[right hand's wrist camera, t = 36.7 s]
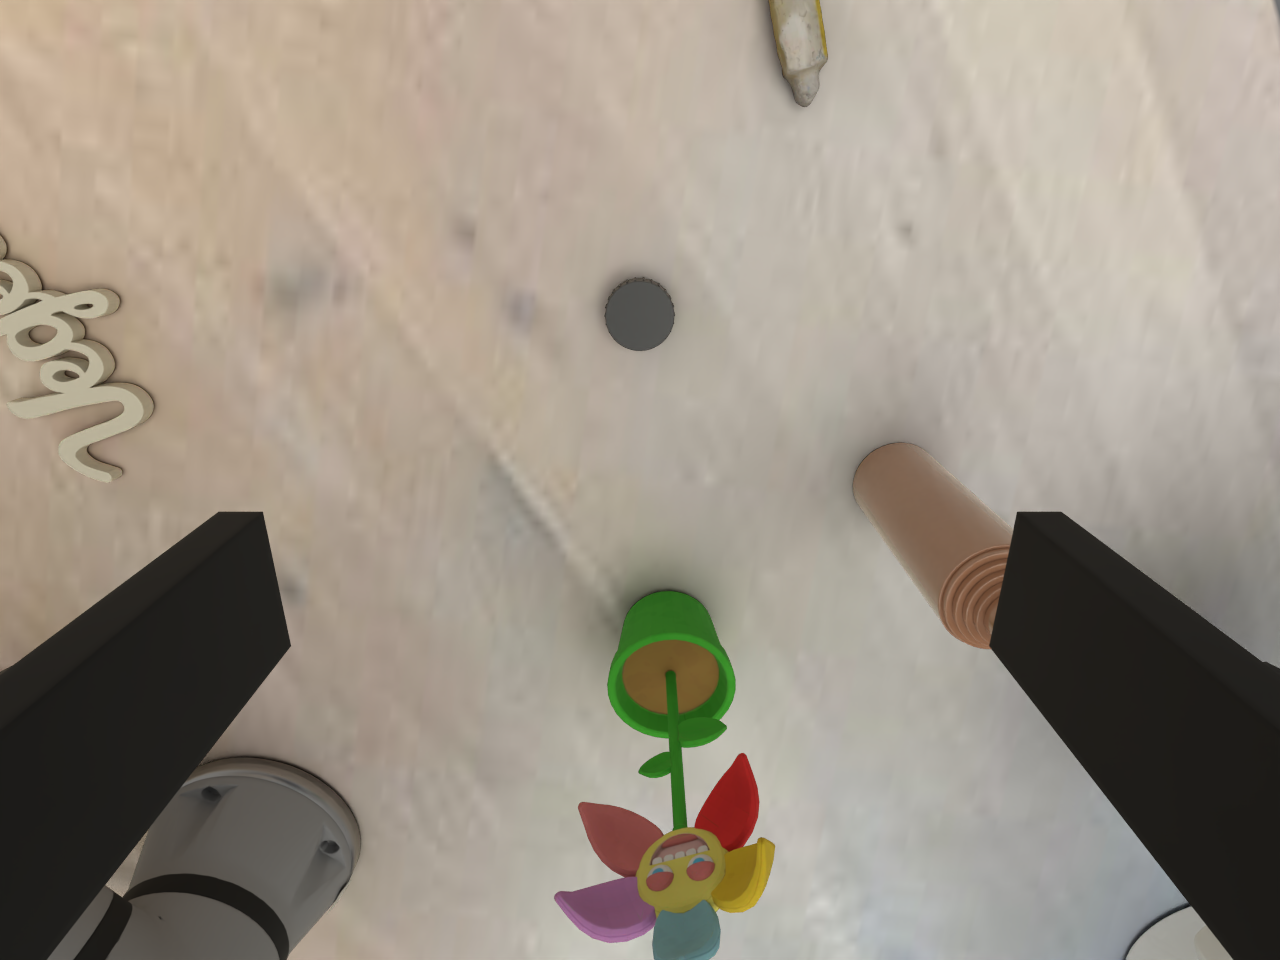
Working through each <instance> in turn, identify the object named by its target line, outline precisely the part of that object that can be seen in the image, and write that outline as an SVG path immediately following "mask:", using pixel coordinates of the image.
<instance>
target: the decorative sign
mask: <svg viewBox="0 0 1280 960" xmlns="http://www.w3.org/2000/svg"><path fill="white" fill-rule="evenodd" d="M6 251H7V247H6V243H5V241H4V239H3V238H2V237H1V236H0V271H3V272H5V273H7V274H8V275H9V276H10V277H11V278H12V280H13V283H12V282H10V281H7V280H2V279H0V294H1V295H2V296H3V298H2V299H0V315H4V314H10V313H12V314H10V315H7V316H5V317H3V318H1V319H0V336H3V335H7V344H8V347H9V349H10V351H11V352H12V353H13V354H14V355H15V356H16V357H17V358H19V359H20V360H23V361H28V362H32V361H39V360H43V359H47V358H50V357H54V356H57V355H61V354H63V353H65V352H68V351H69V350H73V351H77V352H80V353H82V354H84V355H86V356H87V357H88V359H89V362H88V361H86V360H84V359H80V358H72V357H66V358H61V359H57V360H54V361H50V362H47V363H45V364H43V365H42V367H41V369H40V379H41V382H42V383H43V385H44V386H45V387H47V388H48V389H50V390H52V391H55V392H58V393H53V394H48V395H44V396H39V397H35V398H19V399H16V400H13V401H10V402H7V407H8V409H9V410H10V411H11V412H12V413H13V414H14V415H15V416H17V417H20V418H23V419H33V418H38V417H42V416H46V415H49V414H53V413H56V412H60V411H63V410H67V409H71V408H76V407H80V406H86V405H91V404H97V403H104V402H110V401H119V402H121V403H122V404H123V406H124V412H123V413H122V414H121V415H119V416H118V417H116V418H114V419H112V420H109V421H106V422H103V423H101V424H98V425H95V426H93V427H90V428H88V429H85V430H83V431H80V432H78V433H76V434H73V435H71V436H69V437H67V438H65V439H64V440H63V441H62V442H61V443H60V445H59V447H58V454H59V456H60V458H61V459H62V461H63V462H64V463H66V464H67V465H68V466H69V467H71V468H72V469H74V470H75V471H77V472H79V473H81V474H82V475H84V476H87V477H89V478H92V479H94V480H97V481H101V482H105V483H109V482H111V481H113V480H115V479H117V478H119V477H121V476H122V470H121V469H120V468H118V467H115V466H111V465H108V464H105V463H102V462H99V461H97V460H95V459H94V458H92V457H91V456H90V455H89V454H88V452H87V447H88V446H89V445H90V444H92V443H94V442H97V441H100V440H103V439H105V438H108V437H111V436H113V435H116V434H118V433H121V432H124V431H126V430H128V429H131V428H133V427H135V426H137V425H139V424H141V423H143V422H145V421H146V420H147V419H148V418H149V417H150V416H151V414H152V412H153V408H154V405H153V401H152V399H151V397H150V396H149V395H148V393H147V392H145V391H144V390H143V389H142V388H140V387H138V386H136V385H133V384H129V383H105V384H101V383H103V382H104V381H105V380H107V379H108V378H109V377H110V375H111V374H112V373H113V371H114V368H115V362H114V359H113V357H112V355H111V353H110V352H109V350H108V349H107V348H106V347H104V346H103V345H101V344H100V343H98V342H95V341H92V340H86V339H83V338H84V336H85V329H84V326H83V325H82V323H81V322H80V321H79V320H78V319H76V318H75V317H79V318H88V319H89V318H96V317H101V316H105V315H109V314H112V313H114V312H115V311H116V310H117V309H118V307H119V304H120V299H119V297H118V296H117V295H116V294H115V293H114V292H112V291H110V290H108V289H93V290H87V291H81V292H77V293H72V294H68V295H67V294H64V293H62V292H59V291H54V290H43V291H41V290H42V285H41V281H40V279H39V277H38V275H37V274H36V273H35V271H34V270H33V269H32V268H31V267H30V266H28V265H27V264H25V263H23V262H20V261H16V260H10V259H4V260H2V259H3V258H4V257H5V255H6ZM37 299H40V300H42V301H40V302H38V303H36V304H34V305H32V304H33V303H34V302H35V301H36V300H37ZM87 304H93V307H88V306H86V305H87ZM62 312H65V313H62ZM66 313H67V314H66ZM71 315H72V316H71ZM73 316H75V317H73ZM39 325H48V326H52V327H54V328H56V329H57V334H56V336H55V337H54V338H53V339H52V340H51V341H49V342H47V343H45V344H39V343H35V342H33V341H32V340H31V339H30V338H29V335H28V333H29V331H30V330H31V329H33V328H34V327H36V326H39ZM66 370H69V371H73V372H75V373H77V374H78V375H79V378H70V377H68V376H66V375H65V374H64V373H65V371H66Z"/></svg>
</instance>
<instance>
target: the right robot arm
mask: <svg viewBox="0 0 1280 960" xmlns="http://www.w3.org/2000/svg"><path fill="white" fill-rule="evenodd" d="M290 646H291V644H290V639H289V634H288V630H287V625H286V620H285V615H284V611H283V606H282V601H281V596H280V592H279V587H278V582H277V577H276V572H275V568H274V563H273V558H272V553H271V549H270V544H269V539H268V534H267V530H266V525H265V520H264V515H263V512H218V513H217V514H215V515H214V516H212V517H211V518H210V519H208V520H207V521H206V522H204V523H203V524H202V525H200V526H199V527H198V528H196V529H195V530H194V531H192V532H191V533H190V534H188V535H187V536H186V537H184V538H183V539H182V540H180V541H179V542H178V543H176V544H175V545H174V546H172V547H171V548H170V549H168V550H167V551H166V552H164V553H163V554H162V555H160V556H159V557H158V558H156V559H155V560H154V561H152V562H151V563H150V564H148V565H147V566H146V567H144V568H143V569H142V570H140V571H139V572H138V573H136V574H135V575H134V576H132V577H131V578H130V579H128V580H127V581H125V582H124V583H123V584H121V585H120V586H119V587H117V588H116V589H115V590H113V591H112V592H111V593H109V594H108V595H107V596H105V597H104V598H103V599H101V600H100V601H99V602H97V603H96V604H95V605H93V606H92V607H91V608H89V609H88V610H87V611H85V612H84V613H83V614H81V615H80V616H79V617H77V618H76V619H75V620H73V621H72V622H71V623H69V624H68V625H67V626H65V627H64V628H63V629H61V630H60V631H59V632H57V633H56V634H55V635H53V636H52V637H51V638H49V639H48V640H47V641H45V642H44V643H43V644H41V645H40V646H38V647H37V648H36V649H34V650H33V651H32V652H30V653H29V654H28V655H26V656H25V657H24V658H22V659H21V660H20V661H18V662H17V663H16V664H14V665H13V666H11V667H9V668H7V669H5V670H3V671H1V672H0V960H287V958H288V956H289V954H290V952H291V951H292V950H293V949H294V948H295V946H296V945H297V944H298V943H299V942H300V941H301V940H302V938H303V937H304V936H305V935H306V934H307V933H308V932H309V930H310V929H311V928H312V927H313V926H314V925H315V924H316V922H317V921H318V920H319V919H320V918H321V917H322V916H323V914H324V913H325V912H326V911H327V910H328V909H329V908H330V906H331V905H332V904H333V903H334V904H333V906H332V907H331V909H332V908H333V907H334V906H335V905H336V904H337V902H338V901H339V899H340V898H341V896H342V894H343V893H344V891H345V890H346V888H347V886H348V885H349V883H350V882H351V881H350V882H349V880H350V877H351V875H352V873H353V870H354V868H355V866H356V863H357V861H358V858H359V854H360V847H361V845H360V833H359V829H358V825H357V823H356V820H355V818H354V816H353V814H352V813H351V811H350V809H349V808H348V806H347V805H346V804H345V802H344V801H343V800H342V799H341V798H340V797H339V796H338V795H337V794H336V793H335V792H334V791H333V790H332V789H331V788H330V787H328V786H327V785H326V784H324V783H323V782H322V781H320V780H319V779H317V778H315V777H314V776H312V775H310V774H308V773H306V772H304V771H302V770H300V769H298V768H295V767H293V766H290V765H287V764H284V763H280V762H276V761H272V760H267V759H260V758H245V757H241V758H228V759H222V760H217V761H213V762H210V763H207V764H204V765H202V766H200V767H197V766H198V765H199V763H200V762H201V761H202V760H203V758H204V757H205V756H206V754H207V753H208V752H209V751H210V749H211V748H212V747H213V745H214V744H215V743H216V742H217V740H218V739H219V738H220V736H221V735H222V734H223V733H224V731H225V730H226V729H227V727H228V726H229V725H230V724H231V722H232V721H233V720H234V718H235V717H236V716H237V715H238V713H239V712H240V711H241V709H242V708H243V707H244V706H245V704H246V703H247V702H248V700H249V699H250V698H251V697H252V695H253V694H254V693H255V691H256V690H257V689H258V688H259V686H260V685H261V684H262V682H263V681H264V680H265V679H266V677H267V676H268V675H269V673H270V672H271V671H272V670H273V668H274V667H275V666H276V664H277V663H278V662H279V661H280V659H281V658H282V657H283V655H284V654H285V653H286V652H287V650H288V649H289V648H290ZM989 646H990V648H991V649H992V650H993V652H994V653H995V654H996V655H997V657H998V658H999V659H1000V661H1001V662H1002V663H1003V664H1004V666H1005V667H1006V668H1007V670H1008V671H1009V672H1010V673H1011V675H1012V676H1013V677H1014V679H1015V680H1016V681H1017V682H1018V684H1019V685H1020V686H1021V688H1022V689H1023V690H1024V691H1025V693H1026V694H1027V695H1028V697H1029V698H1030V699H1031V700H1032V702H1033V703H1034V704H1035V706H1036V707H1037V708H1038V709H1039V711H1040V712H1041V713H1042V715H1043V716H1044V717H1045V718H1046V720H1047V721H1048V722H1049V724H1050V725H1051V726H1052V727H1053V729H1054V730H1055V731H1056V733H1057V734H1058V735H1059V736H1060V738H1061V739H1062V740H1063V742H1064V743H1065V744H1066V745H1067V747H1068V748H1069V749H1070V751H1071V752H1072V753H1073V754H1074V756H1075V757H1076V758H1077V760H1078V761H1079V762H1080V763H1081V765H1082V766H1083V767H1084V769H1085V770H1086V771H1087V772H1088V774H1089V775H1090V776H1091V778H1092V779H1093V780H1094V781H1095V783H1096V784H1097V785H1098V787H1099V788H1100V789H1101V790H1102V792H1103V793H1104V794H1105V796H1106V797H1107V798H1108V799H1109V801H1110V802H1111V803H1112V805H1113V806H1114V807H1115V808H1116V810H1117V811H1118V812H1119V814H1120V815H1121V816H1122V817H1123V819H1124V820H1125V821H1126V823H1127V824H1128V825H1129V826H1130V828H1131V829H1132V830H1133V832H1134V833H1135V834H1136V835H1137V837H1138V838H1139V839H1140V841H1141V842H1142V843H1143V844H1144V846H1145V847H1146V848H1147V850H1148V851H1149V852H1150V853H1151V855H1152V856H1153V857H1154V859H1155V860H1156V861H1157V862H1158V864H1159V865H1160V866H1161V868H1162V869H1163V870H1164V871H1165V873H1166V874H1167V875H1168V877H1169V878H1170V879H1171V880H1172V882H1173V883H1174V884H1175V886H1176V887H1177V888H1178V889H1179V891H1180V892H1181V893H1182V895H1183V896H1184V897H1185V898H1186V900H1187V901H1188V902H1189V904H1190V905H1191V906H1192V907H1193V909H1194V910H1195V911H1196V913H1197V914H1198V915H1199V916H1200V918H1201V919H1202V920H1203V922H1204V923H1205V924H1206V925H1207V927H1208V928H1209V929H1210V931H1211V932H1212V933H1213V934H1214V936H1215V937H1216V938H1217V940H1218V941H1219V942H1220V943H1221V945H1222V946H1223V947H1224V949H1225V950H1226V951H1227V952H1228V954H1229V955H1230V956H1231V958H1232V959H1233V960H1280V669H1279V668H1277V667H1275V666H1273V665H1271V664H1269V663H1267V662H1262V661H1260V660H1259V659H1258V658H1256V657H1255V656H1254V655H1252V654H1251V653H1250V652H1248V651H1247V650H1246V649H1244V648H1243V647H1242V646H1240V645H1239V644H1237V643H1236V642H1235V641H1233V640H1232V639H1231V638H1229V637H1228V636H1227V635H1225V634H1224V633H1223V632H1221V631H1220V630H1219V629H1217V628H1216V627H1215V626H1213V625H1212V624H1211V623H1209V622H1208V621H1207V620H1205V619H1204V618H1203V617H1201V616H1200V615H1199V614H1197V613H1196V612H1195V611H1193V610H1192V609H1191V608H1189V607H1188V606H1187V605H1185V604H1184V603H1183V602H1181V601H1180V600H1179V599H1177V598H1176V597H1175V596H1173V595H1172V594H1171V593H1169V592H1168V591H1167V590H1165V589H1164V588H1163V587H1161V586H1160V585H1159V584H1157V583H1156V582H1155V581H1153V580H1152V579H1150V578H1149V577H1148V576H1146V575H1145V574H1144V573H1142V572H1141V571H1140V570H1138V569H1137V568H1136V567H1134V566H1133V565H1132V564H1130V563H1129V562H1128V561H1126V560H1125V559H1124V558H1122V557H1121V556H1120V555H1118V554H1117V553H1116V552H1114V551H1113V550H1112V549H1110V548H1109V547H1108V546H1106V545H1105V544H1104V543H1102V542H1101V541H1100V540H1098V539H1097V538H1096V537H1094V536H1093V535H1092V534H1090V533H1089V532H1088V531H1086V530H1085V529H1084V528H1082V527H1081V526H1080V525H1078V524H1077V523H1076V522H1074V521H1073V520H1072V519H1070V518H1069V517H1068V516H1066V515H1065V514H1063V513H1062V512H1017V515H1016V520H1015V525H1014V530H1013V534H1012V539H1011V544H1010V549H1009V553H1008V558H1007V563H1006V568H1005V572H1004V577H1003V582H1002V587H1001V592H1000V596H999V601H998V606H997V611H996V615H995V620H994V625H993V630H992V634H991V639H990V644H989ZM196 767H197V768H196ZM148 829H149V831H148V834H147V836H146V839H145V842H144V845H143V848H142V851H141V854H140V857H139V860H138V863H137V866H136V869H135V871H134V874H133V877H132V880H131V883H130V886H129V889H128V891H127V892H126V893H125V895H124V896H123V897H121V896H119V895H118V894H116V893H115V892H114V891H112V890H111V889H110V888H108V887H107V886H105V884H106V883H107V882H108V880H109V879H110V878H111V877H112V875H113V874H114V873H115V871H116V870H117V869H118V868H119V866H120V865H121V864H122V862H123V861H124V860H125V859H126V857H127V856H128V855H129V853H130V852H131V851H132V850H133V848H134V847H135V846H136V844H137V843H138V842H139V841H140V839H141V838H142V837H143V835H144V834H145V833H146V832H147V830H148ZM348 882H349V883H348ZM331 909H330V910H329V912H330V911H331ZM329 912H328V913H329Z"/></svg>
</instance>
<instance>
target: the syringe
mask: <svg viewBox="0 0 1280 960" xmlns="http://www.w3.org/2000/svg"><path fill="white" fill-rule="evenodd" d="M768 1H769V5H770V13H771V19H772V23H773V30H774V37H775V41H776V46H777V53H778V57H779V59H780V63H781V66H782V73H783V77H784V78H785V79H786V80H787V81H788V82H789V84H790V85H791V87H792V90H793V95H794V98H795V101H796V103H798V104H799V105H800V106H802V107H807V106H808V105H810V103H811V102H812V100H813V98H814V97H815V95H816V93H817V91H818V89H819V76H818V75H819V71H820V69H821V68H822V67H823V66H824V64H825V63H826V62H827V60H828V54H827V47H826V39H825V31H824V26H823V21H822V13H821V7H820V1H819V0H768Z"/></svg>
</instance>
